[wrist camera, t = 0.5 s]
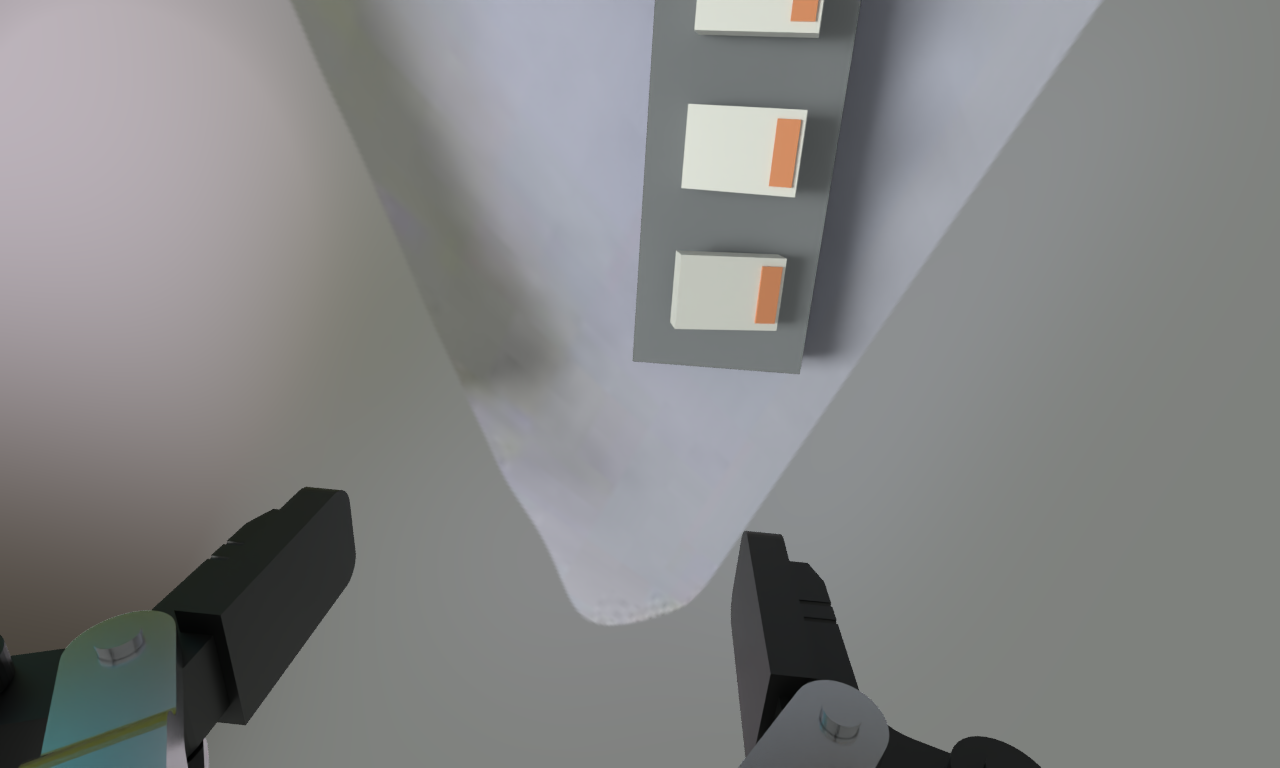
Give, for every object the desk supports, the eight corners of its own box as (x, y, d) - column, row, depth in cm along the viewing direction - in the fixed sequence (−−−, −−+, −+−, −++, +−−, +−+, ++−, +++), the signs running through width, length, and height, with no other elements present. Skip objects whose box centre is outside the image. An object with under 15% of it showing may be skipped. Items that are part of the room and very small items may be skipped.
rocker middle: (695, 106, 30) (687, 103, 28) (808, 112, 28) (807, 109, 27) (689, 186, 31) (680, 188, 29) (796, 195, 30) (794, 197, 28)
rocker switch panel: (670, -194, 28) (669, -232, 25) (875, -184, 27) (897, -221, 25) (636, 344, 37) (632, 361, 34) (790, 356, 36) (799, 374, 34)
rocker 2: (673, 247, 31) (681, 255, 29) (773, 251, 32) (788, 259, 30) (667, 318, 32) (675, 329, 30) (763, 320, 33) (777, 331, 31)
